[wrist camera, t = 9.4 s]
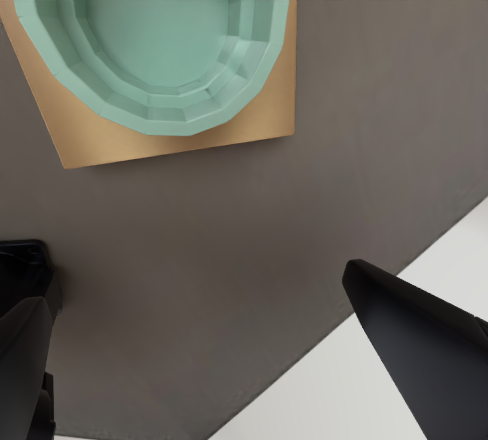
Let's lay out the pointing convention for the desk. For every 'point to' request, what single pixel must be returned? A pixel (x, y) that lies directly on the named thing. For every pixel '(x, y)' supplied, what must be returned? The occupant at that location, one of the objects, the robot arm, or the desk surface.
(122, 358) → the desk surface
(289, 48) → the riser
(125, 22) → the bowl
